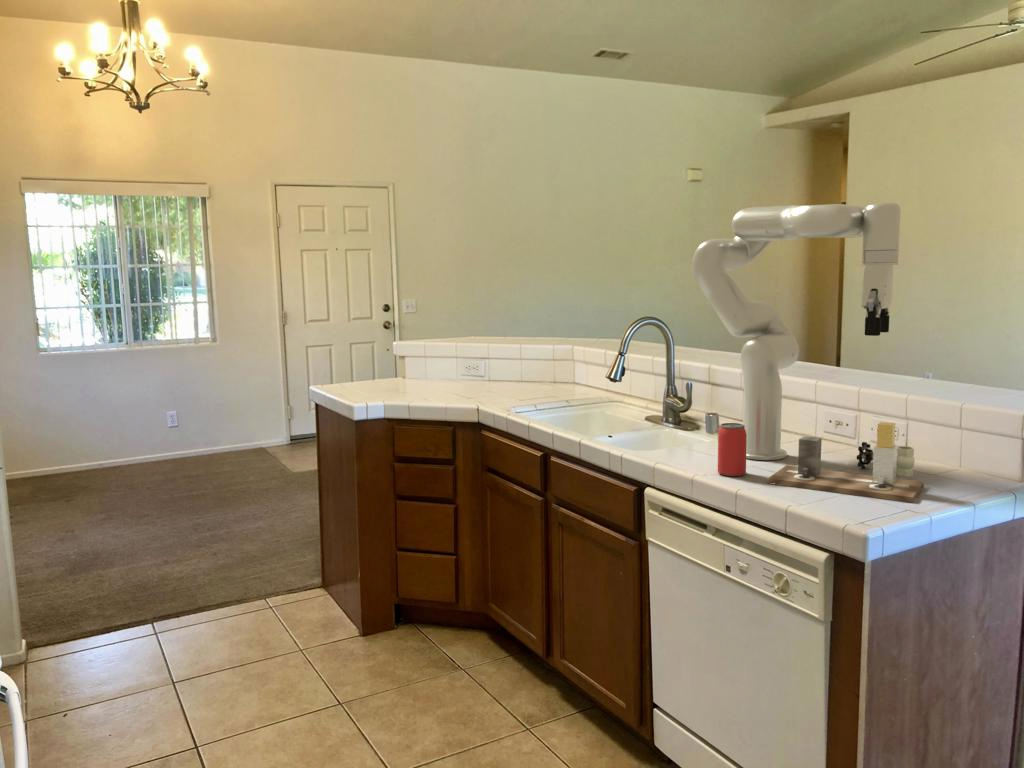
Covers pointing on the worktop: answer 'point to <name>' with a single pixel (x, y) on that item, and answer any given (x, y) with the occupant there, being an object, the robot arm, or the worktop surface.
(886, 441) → the block
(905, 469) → the valve
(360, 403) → the worktop surface
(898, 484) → the bolt plate
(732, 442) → the beer can
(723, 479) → the worktop surface
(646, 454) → the worktop surface
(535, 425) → the worktop surface
